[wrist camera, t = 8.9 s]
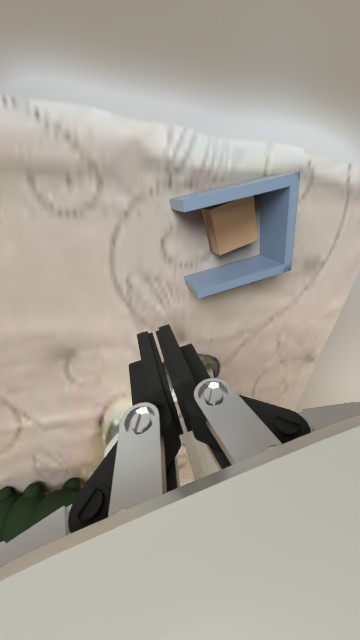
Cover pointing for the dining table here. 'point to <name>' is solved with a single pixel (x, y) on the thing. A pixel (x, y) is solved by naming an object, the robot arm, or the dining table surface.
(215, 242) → the cardboard shipping box
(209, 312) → the dining table surface
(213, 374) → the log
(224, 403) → the robot arm
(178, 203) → the box
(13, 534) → the toy figurine
